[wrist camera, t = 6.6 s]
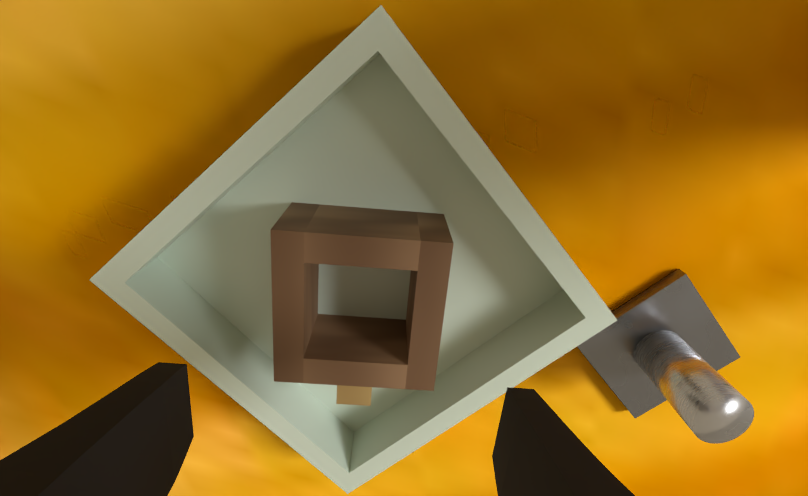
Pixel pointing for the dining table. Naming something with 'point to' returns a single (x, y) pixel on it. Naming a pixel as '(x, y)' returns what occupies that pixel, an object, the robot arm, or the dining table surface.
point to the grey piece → (671, 359)
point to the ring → (351, 335)
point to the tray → (348, 285)
